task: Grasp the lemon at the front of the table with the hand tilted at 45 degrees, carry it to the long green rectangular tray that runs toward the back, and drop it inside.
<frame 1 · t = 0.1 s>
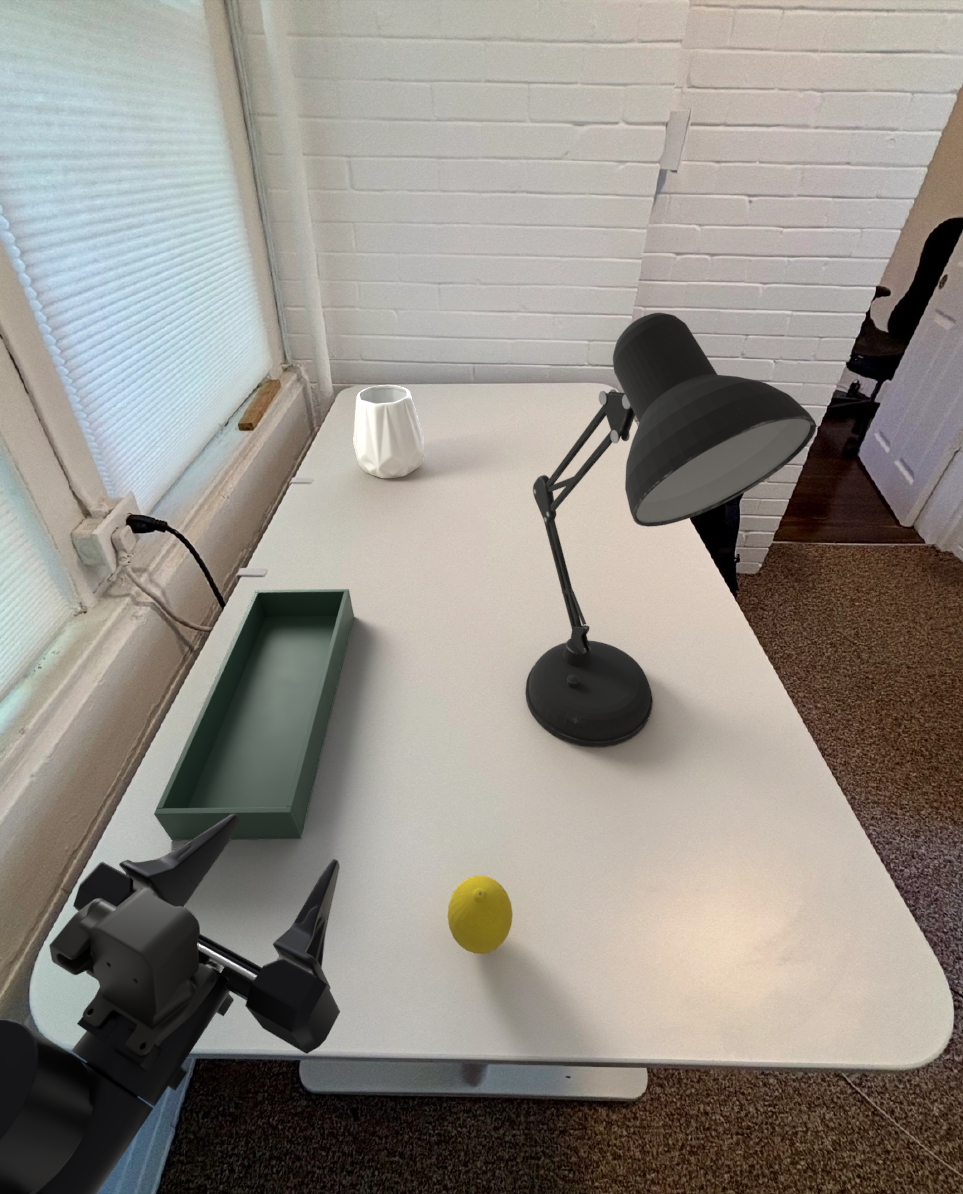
hand: (285, 838, 45), 15 cm above the table, tool horizontal, fingers open, 9 cm apart
desk lamp: (589, 701, 74), on the table
vase: (391, 467, 122), on the table
lemon: (480, 933, 53), on the table
green rectangular tray: (279, 707, 73), on the table
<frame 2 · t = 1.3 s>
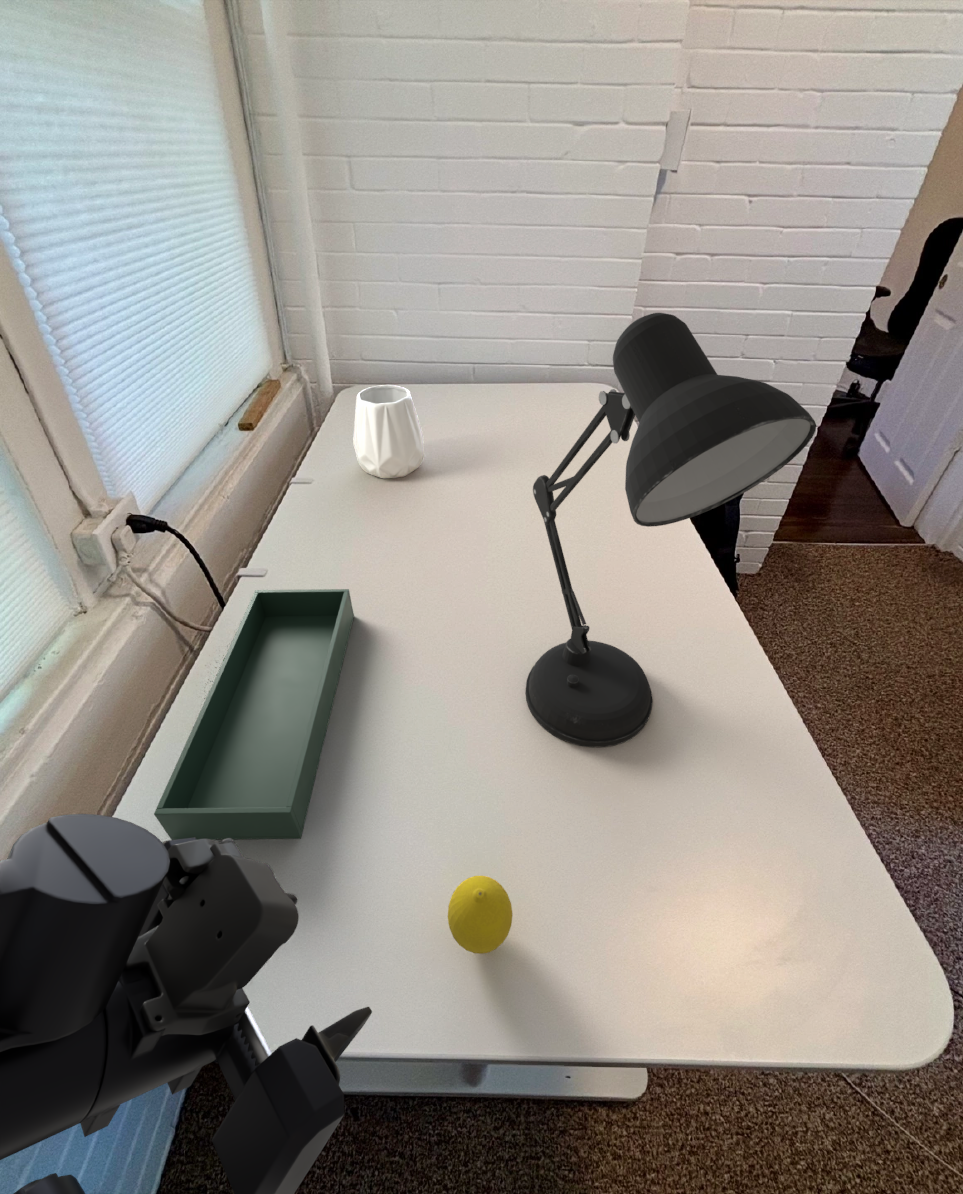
hand: (328, 954, 39), 14 cm above the table, tool tilted 45°, fingers open, 9 cm apart
nothing on the table moved.
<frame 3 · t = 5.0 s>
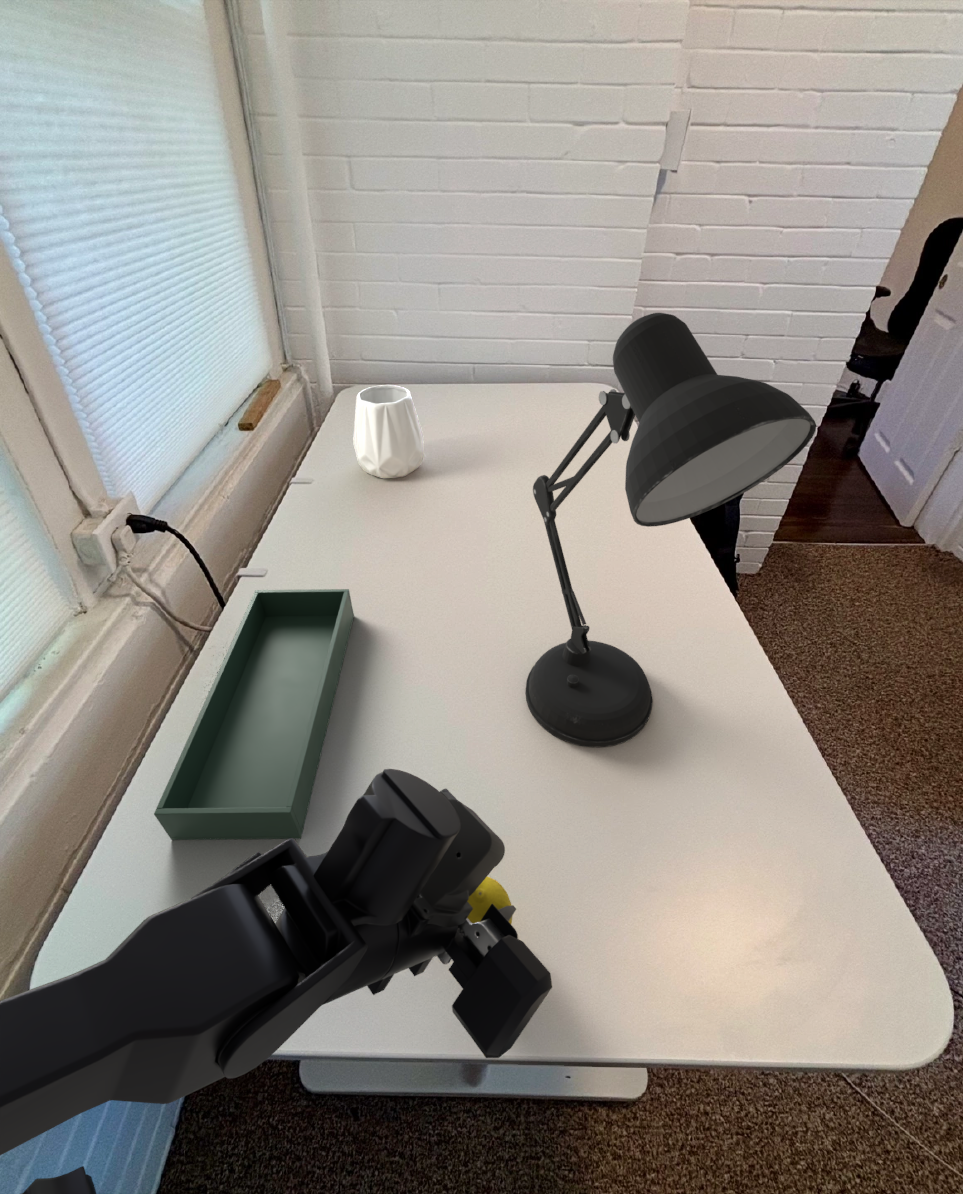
hand: (492, 889, 50), 7 cm above the table, tool tilted 45°, fingers closed on lemon, 4 cm apart
lemon: (480, 933, 53), on the table, touching gripper
everything else where it was.
when the fingers open (9 cm above the table, at t = 12.5 s): lemon drops 2 cm, resting on green rectangular tray.
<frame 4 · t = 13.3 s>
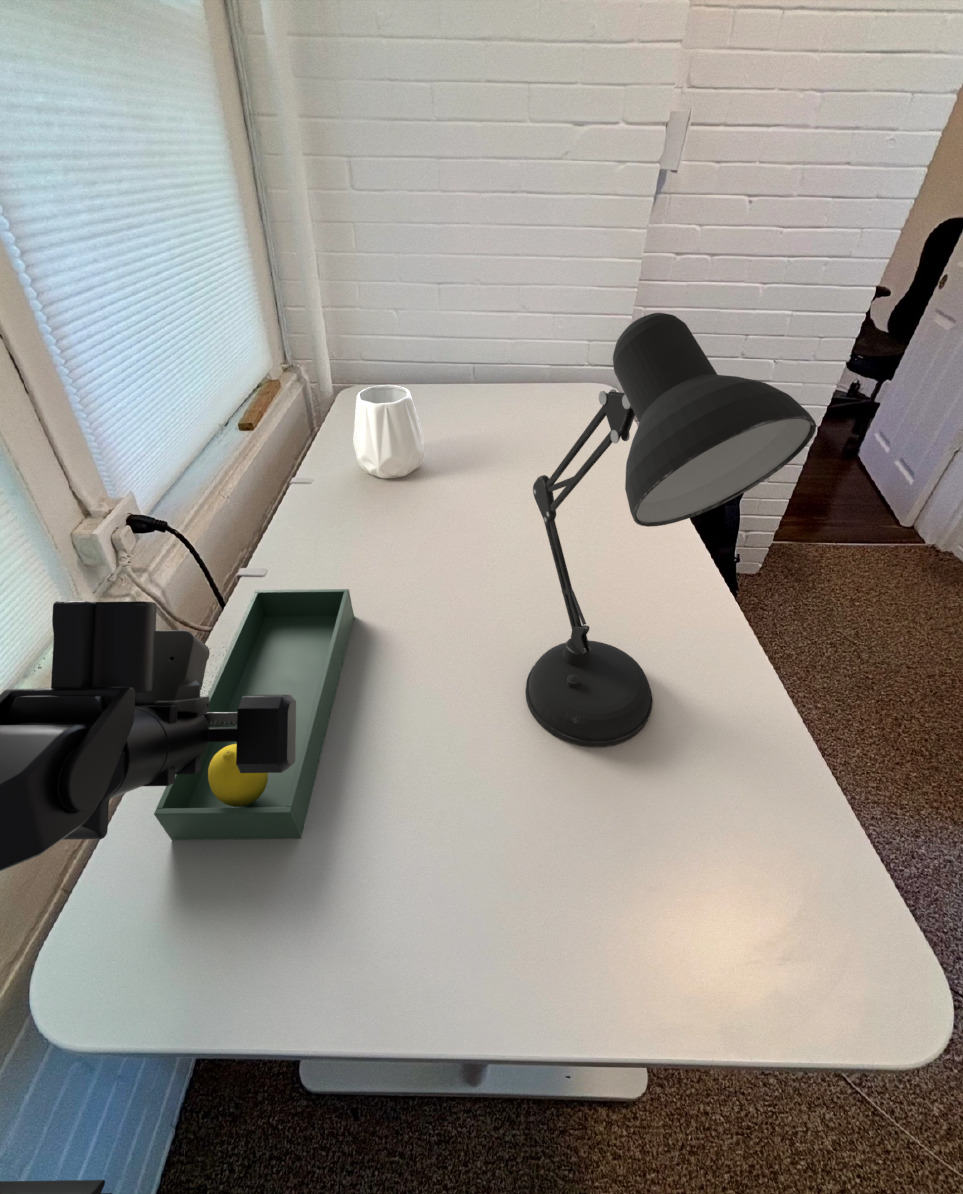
hand: (223, 721, 57), 11 cm above the table, tool tilted 45°, fingers open, 9 cm apart
lemon: (249, 797, 63), resting on green rectangular tray
everything else where it was.
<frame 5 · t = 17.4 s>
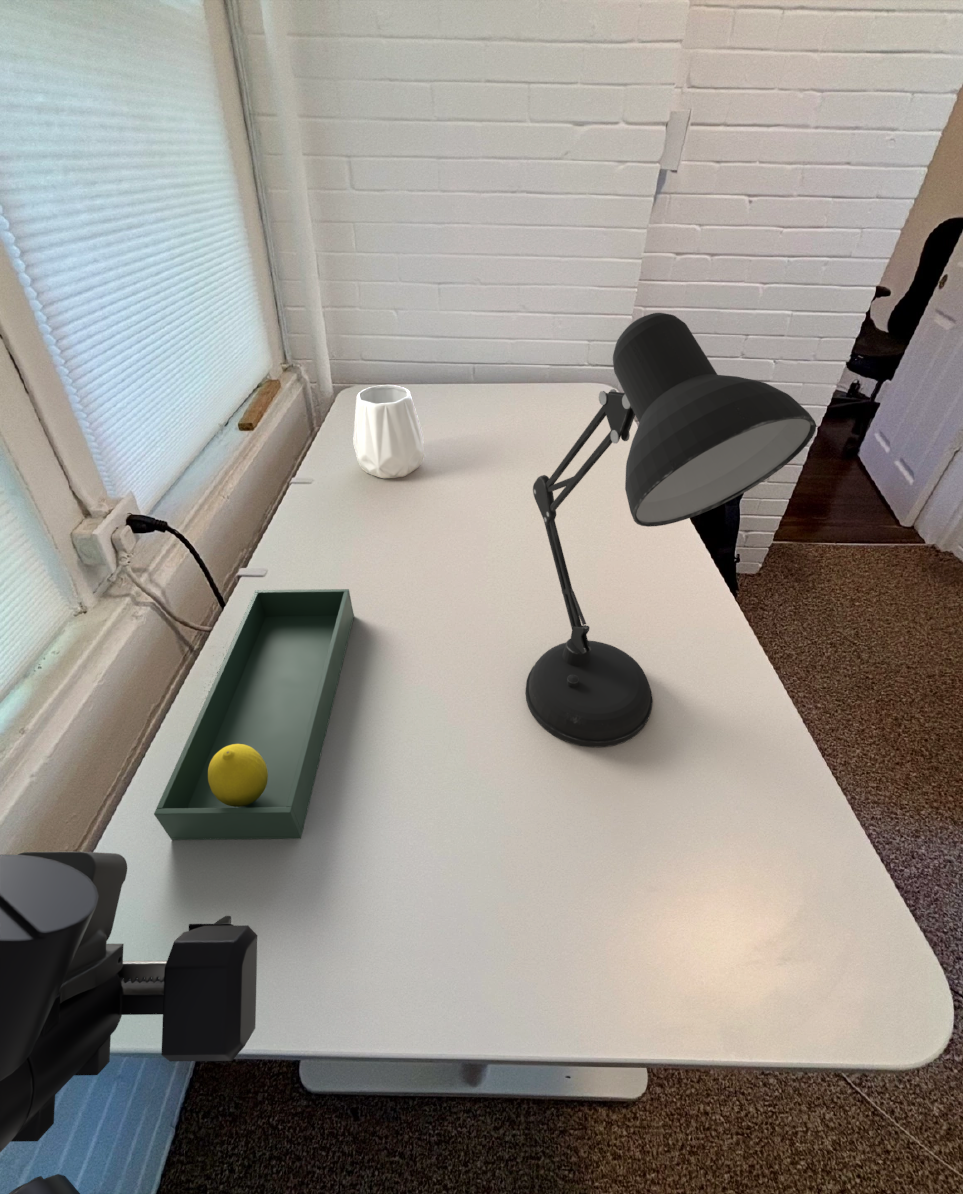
hand: (162, 923, 41), 14 cm above the table, tool tilted 45°, fingers open, 9 cm apart
nothing on the table moved.
at the end: lemon inside the target area in the green rectangular tray (12.6 cm from its centre), point 0.3 cm above the green rectangular tray's base; the gripper is holding nothing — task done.
